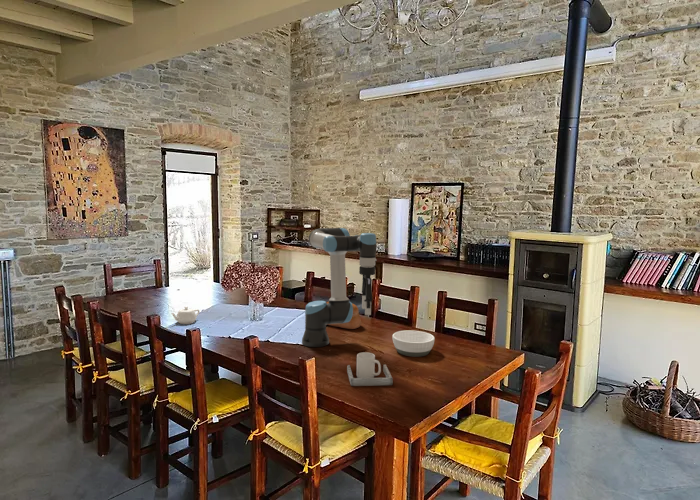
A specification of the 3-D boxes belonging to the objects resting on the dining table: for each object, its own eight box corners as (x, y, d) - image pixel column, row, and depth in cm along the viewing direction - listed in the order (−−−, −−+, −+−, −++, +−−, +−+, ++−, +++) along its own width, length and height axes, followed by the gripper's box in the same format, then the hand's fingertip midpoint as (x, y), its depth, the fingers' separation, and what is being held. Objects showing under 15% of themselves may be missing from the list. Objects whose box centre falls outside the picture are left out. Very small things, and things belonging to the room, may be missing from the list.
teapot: (176, 327, 283) (176, 311, 282) (166, 323, 291) (165, 308, 290) (204, 321, 299) (204, 305, 298) (193, 317, 306) (193, 302, 305)
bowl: (407, 361, 232) (408, 345, 231) (384, 347, 252) (384, 333, 251) (442, 354, 243) (443, 339, 242) (417, 342, 262) (418, 328, 261)
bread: (352, 330, 283) (352, 306, 282) (317, 324, 297) (318, 301, 295) (363, 325, 295) (363, 302, 293) (329, 319, 308) (330, 297, 307)
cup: (362, 371, 216) (362, 351, 215) (384, 377, 210) (385, 356, 209) (352, 377, 209) (353, 356, 208) (376, 383, 203) (376, 361, 202)
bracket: (350, 386, 200) (350, 379, 200) (347, 371, 217) (347, 365, 216) (392, 385, 202) (392, 378, 201) (385, 370, 219) (385, 364, 218)
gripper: (379, 270, 206) (377, 318, 208) (371, 262, 228) (370, 305, 231) (362, 270, 205) (361, 318, 207) (356, 262, 228) (355, 305, 230)
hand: (366, 311), depth 219 cm, fingers open, 11 cm apart
